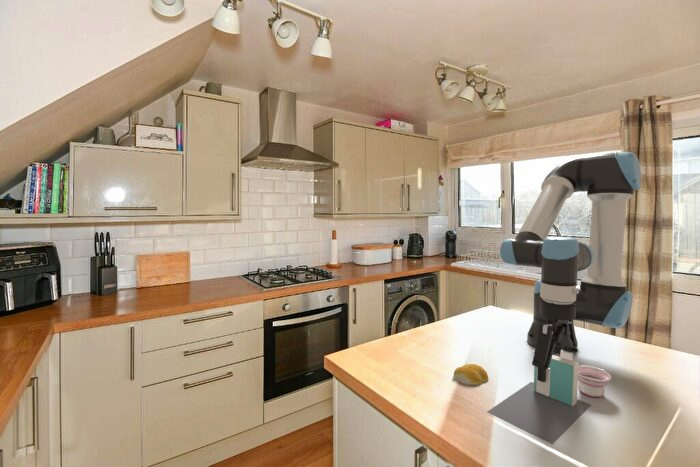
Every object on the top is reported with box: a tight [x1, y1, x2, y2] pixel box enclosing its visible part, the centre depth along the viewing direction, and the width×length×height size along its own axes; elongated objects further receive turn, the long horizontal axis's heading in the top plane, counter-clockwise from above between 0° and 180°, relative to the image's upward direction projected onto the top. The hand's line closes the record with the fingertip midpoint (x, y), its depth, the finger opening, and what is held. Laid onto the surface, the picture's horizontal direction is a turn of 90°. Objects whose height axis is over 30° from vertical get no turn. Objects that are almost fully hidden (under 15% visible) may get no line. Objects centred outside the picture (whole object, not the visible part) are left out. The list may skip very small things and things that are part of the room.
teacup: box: [578, 364, 612, 398], centre depth 87 cm, size 12×12×6 cm
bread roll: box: [453, 363, 489, 386], centre depth 96 cm, size 8×9×4 cm
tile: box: [533, 354, 579, 406], centre depth 85 cm, size 9×3×10 cm, turn 38°
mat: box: [486, 381, 592, 445], centre depth 80 cm, size 14×22×1 cm, turn 128°
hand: (554, 384), depth 85 cm, fingers open, 13 cm apart
